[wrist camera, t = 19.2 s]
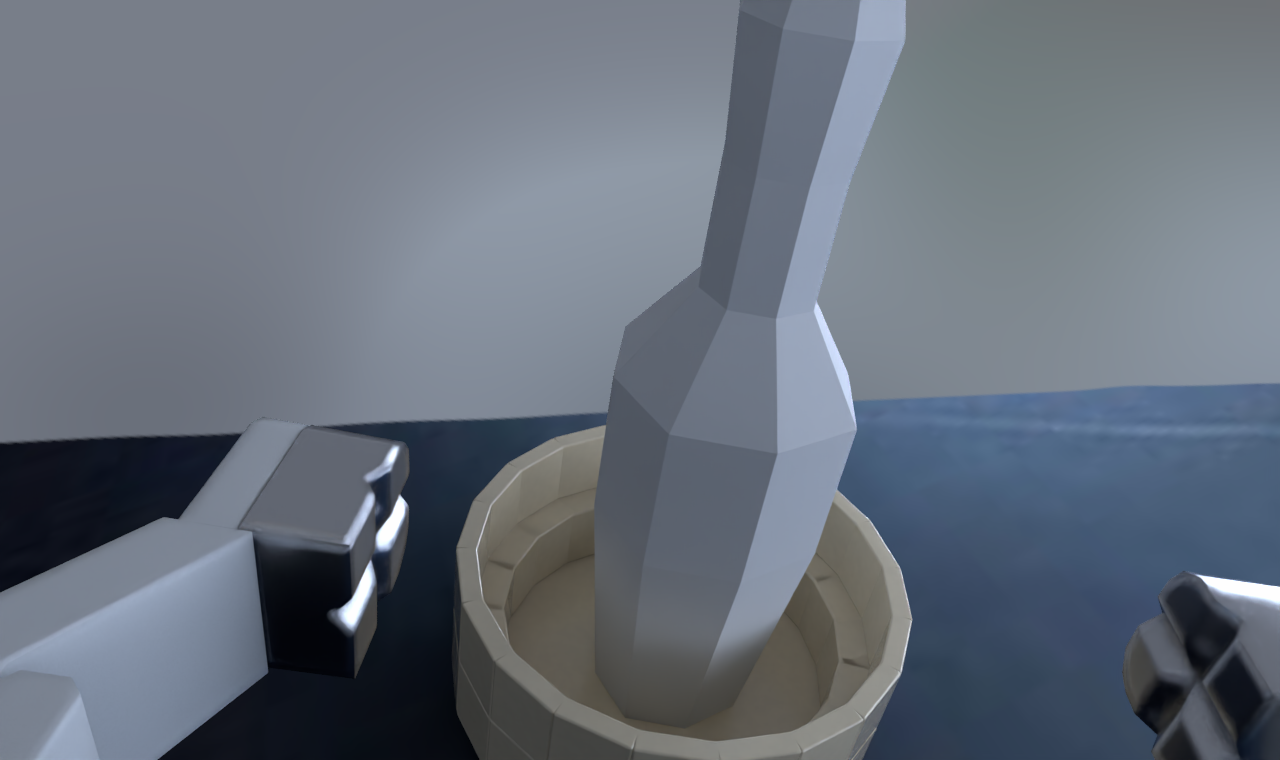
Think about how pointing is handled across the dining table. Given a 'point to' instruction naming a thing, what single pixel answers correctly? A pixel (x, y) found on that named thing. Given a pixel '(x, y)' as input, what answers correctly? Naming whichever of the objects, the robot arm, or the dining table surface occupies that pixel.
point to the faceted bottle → (738, 377)
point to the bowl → (565, 634)
